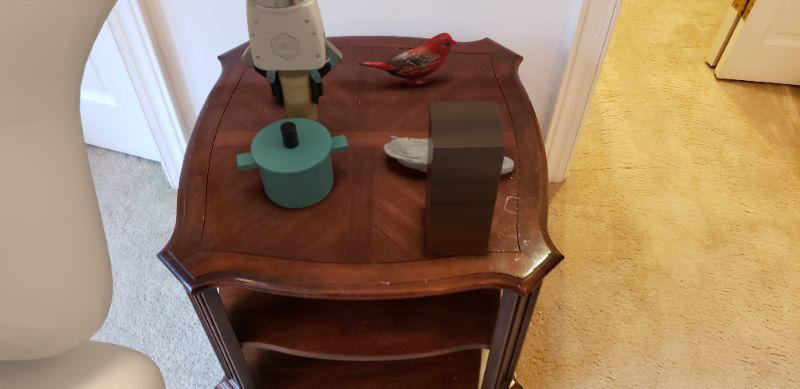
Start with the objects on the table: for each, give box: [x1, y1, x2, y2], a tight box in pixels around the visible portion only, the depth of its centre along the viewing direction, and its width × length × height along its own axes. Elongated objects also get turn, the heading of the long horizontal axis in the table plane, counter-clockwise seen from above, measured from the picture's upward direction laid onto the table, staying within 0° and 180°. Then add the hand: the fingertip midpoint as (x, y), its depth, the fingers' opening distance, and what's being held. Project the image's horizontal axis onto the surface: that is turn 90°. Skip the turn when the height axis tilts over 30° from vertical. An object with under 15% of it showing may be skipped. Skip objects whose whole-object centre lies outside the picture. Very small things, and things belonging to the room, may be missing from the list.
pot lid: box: [250, 118, 332, 175], centre depth 78 cm, size 11×11×4 cm
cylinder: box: [278, 70, 319, 122], centre depth 85 cm, size 5×5×9 cm
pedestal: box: [424, 100, 507, 256], centre depth 70 cm, size 8×8×20 cm
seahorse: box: [383, 135, 515, 176], centre depth 85 cm, size 5×12×20 cm
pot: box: [236, 134, 349, 209], centre depth 82 cm, size 10×16×8 cm, turn 106°
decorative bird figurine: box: [356, 32, 458, 86], centre depth 97 cm, size 3×18×10 cm, turn 102°
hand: (299, 97), depth 85 cm, fingers closed on cylinder, 4 cm apart
